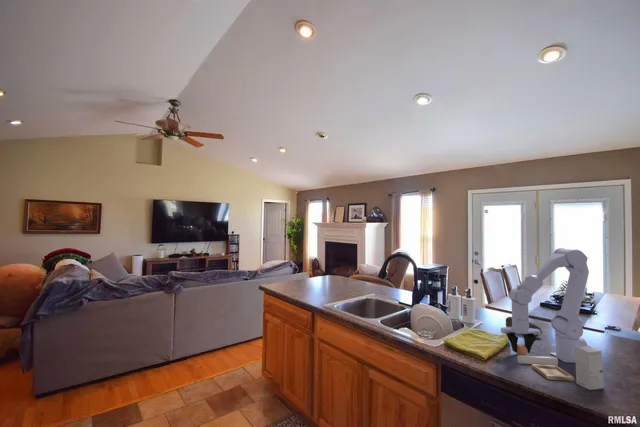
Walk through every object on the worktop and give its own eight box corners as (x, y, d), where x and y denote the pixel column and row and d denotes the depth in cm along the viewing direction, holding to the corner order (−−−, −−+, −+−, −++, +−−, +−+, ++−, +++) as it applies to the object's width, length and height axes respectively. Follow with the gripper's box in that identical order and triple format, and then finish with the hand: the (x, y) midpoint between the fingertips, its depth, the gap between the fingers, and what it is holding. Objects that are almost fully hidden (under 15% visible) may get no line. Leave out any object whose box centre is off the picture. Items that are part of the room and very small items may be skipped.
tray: (556, 368, 107) (556, 365, 107) (574, 380, 98) (574, 377, 98) (531, 367, 107) (531, 364, 107) (547, 379, 99) (547, 375, 99)
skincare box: (590, 390, 92) (588, 352, 93) (575, 383, 97) (573, 346, 97) (604, 388, 94) (603, 350, 94) (589, 381, 98) (587, 345, 99)
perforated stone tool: (544, 337, 138) (543, 323, 138) (540, 340, 134) (539, 325, 135) (509, 328, 150) (508, 315, 150) (504, 330, 147) (504, 316, 147)
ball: (523, 353, 120) (523, 342, 120) (530, 357, 115) (529, 346, 116) (512, 352, 120) (512, 341, 120) (518, 357, 116) (518, 346, 116)
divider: (555, 363, 111) (555, 357, 111) (558, 365, 109) (557, 358, 110) (517, 361, 112) (517, 355, 112) (519, 363, 111) (519, 356, 111)
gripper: (532, 316, 122) (533, 348, 121) (496, 314, 123) (497, 346, 123) (543, 321, 115) (544, 355, 114) (505, 319, 116) (506, 353, 116)
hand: (521, 351), depth 118 cm, fingers closed on ball, 4 cm apart
